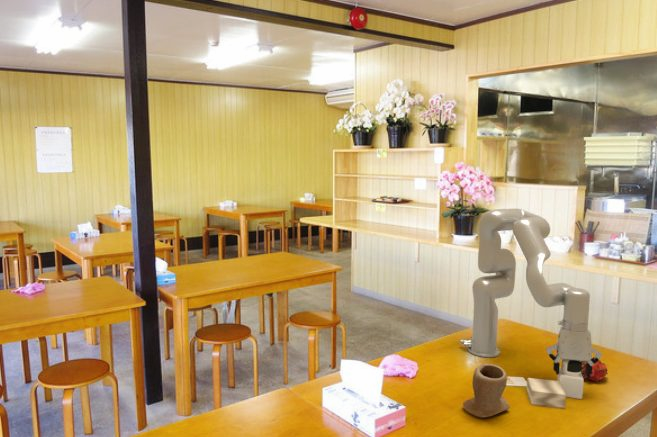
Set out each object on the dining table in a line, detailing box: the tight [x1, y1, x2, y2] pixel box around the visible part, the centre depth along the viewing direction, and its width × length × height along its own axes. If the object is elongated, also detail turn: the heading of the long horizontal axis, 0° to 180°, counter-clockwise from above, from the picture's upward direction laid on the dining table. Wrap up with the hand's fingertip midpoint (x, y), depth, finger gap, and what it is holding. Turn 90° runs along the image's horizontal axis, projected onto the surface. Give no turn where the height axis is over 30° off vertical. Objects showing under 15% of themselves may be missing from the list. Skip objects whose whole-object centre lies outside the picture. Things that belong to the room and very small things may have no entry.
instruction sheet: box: [506, 376, 527, 388], centre depth 179 cm, size 10×7×1 cm
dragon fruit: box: [581, 359, 608, 383], centre depth 181 cm, size 8×8×12 cm
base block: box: [526, 377, 567, 410], centre depth 166 cm, size 10×10×5 cm
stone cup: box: [462, 363, 511, 418], centre depth 157 cm, size 15×12×15 cm
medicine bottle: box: [556, 359, 585, 400], centre depth 170 cm, size 7×7×12 cm
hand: (572, 374), depth 170 cm, fingers open, 9 cm apart
